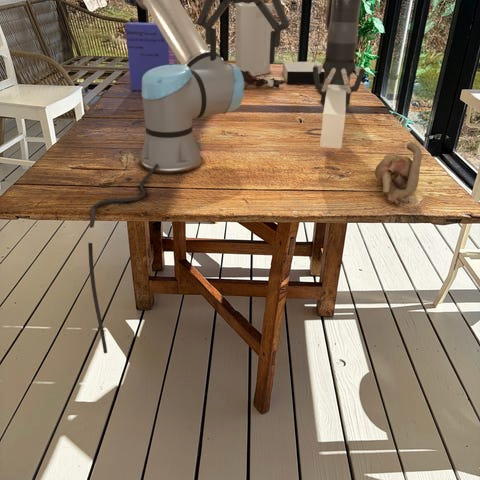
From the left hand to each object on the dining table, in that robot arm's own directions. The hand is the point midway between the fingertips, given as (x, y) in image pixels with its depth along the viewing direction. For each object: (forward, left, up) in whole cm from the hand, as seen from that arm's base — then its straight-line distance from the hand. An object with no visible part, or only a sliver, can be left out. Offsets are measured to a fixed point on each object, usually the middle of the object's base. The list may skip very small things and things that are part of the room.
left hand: (242, 61), depth 109 cm
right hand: (+22, -22, -14) cm, 34 cm away
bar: (+12, -22, -18) cm, 31 cm away
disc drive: (+104, -8, -26) cm, 108 cm away
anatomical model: (-8, -37, -26) cm, 46 cm away
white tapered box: (+111, +16, -26) cm, 115 cm away
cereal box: (+69, +48, -26) cm, 88 cm away
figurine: (+81, +13, -26) cm, 86 cm away
